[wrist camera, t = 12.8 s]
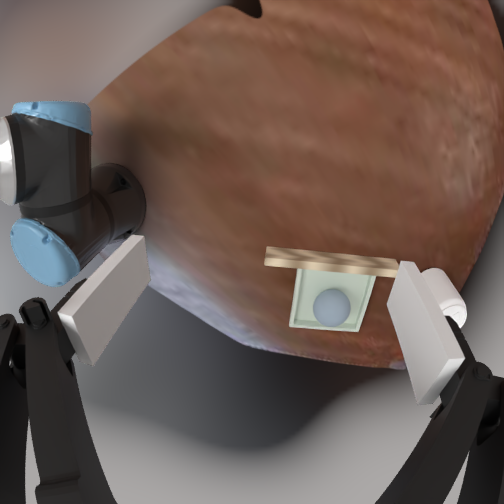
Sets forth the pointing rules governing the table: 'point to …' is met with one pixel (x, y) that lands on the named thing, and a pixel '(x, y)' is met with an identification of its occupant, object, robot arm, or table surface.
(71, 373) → the robot arm
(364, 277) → the tray
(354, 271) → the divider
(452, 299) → the beverage can
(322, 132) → the table surface
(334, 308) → the ball
